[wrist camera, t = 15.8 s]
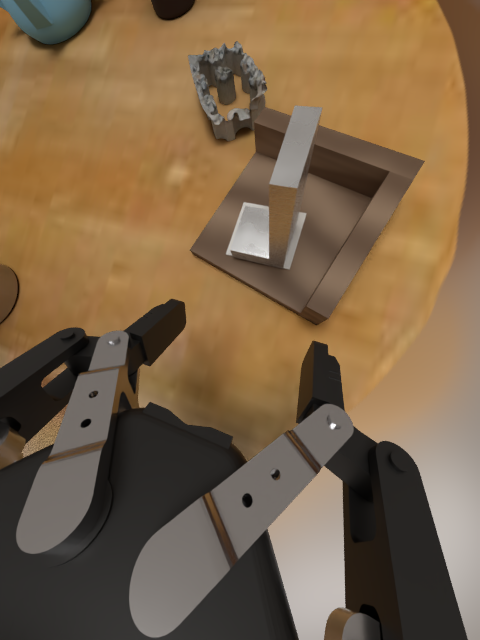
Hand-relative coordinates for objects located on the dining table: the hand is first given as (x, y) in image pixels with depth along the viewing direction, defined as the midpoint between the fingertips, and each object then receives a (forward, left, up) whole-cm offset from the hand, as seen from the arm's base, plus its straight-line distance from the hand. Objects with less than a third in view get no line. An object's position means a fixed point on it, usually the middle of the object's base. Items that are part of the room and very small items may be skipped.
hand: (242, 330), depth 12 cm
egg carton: (+24, +19, -9) cm, 32 cm away
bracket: (+9, +4, -7) cm, 13 cm away
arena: (+13, +3, -9) cm, 16 cm away
